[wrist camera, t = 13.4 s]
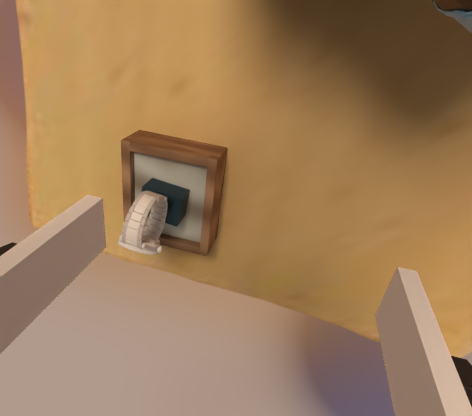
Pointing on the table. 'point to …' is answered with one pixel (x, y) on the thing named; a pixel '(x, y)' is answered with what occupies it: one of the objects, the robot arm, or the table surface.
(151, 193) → the watch
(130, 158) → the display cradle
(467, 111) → the table surface
